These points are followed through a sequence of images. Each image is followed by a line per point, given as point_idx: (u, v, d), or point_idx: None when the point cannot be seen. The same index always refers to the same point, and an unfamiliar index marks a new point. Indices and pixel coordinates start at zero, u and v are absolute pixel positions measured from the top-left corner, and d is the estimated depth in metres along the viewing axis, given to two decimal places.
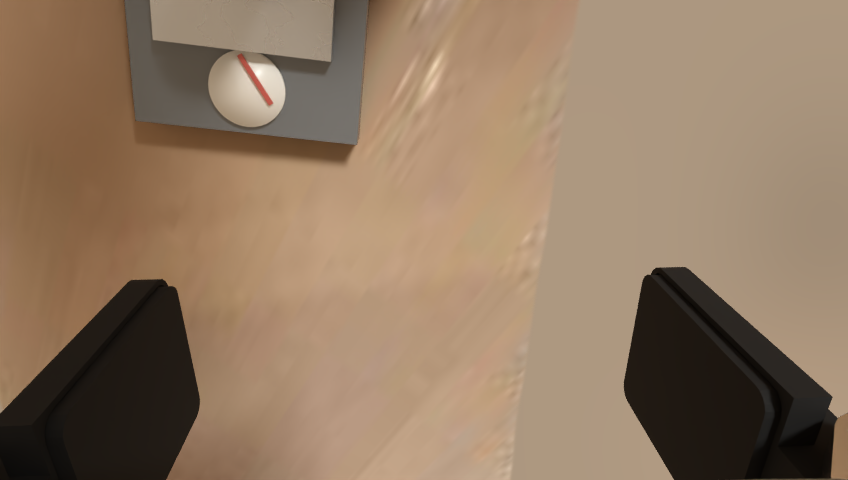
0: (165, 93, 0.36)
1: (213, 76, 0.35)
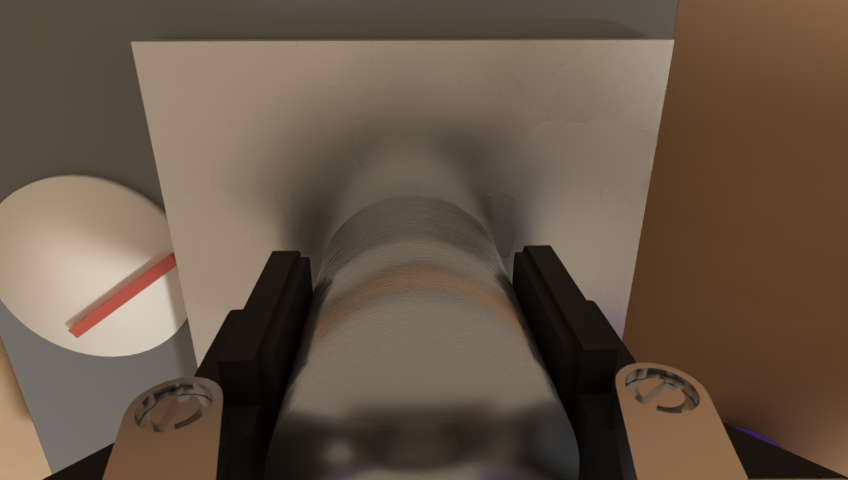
0: None
1: (95, 193, 0.13)
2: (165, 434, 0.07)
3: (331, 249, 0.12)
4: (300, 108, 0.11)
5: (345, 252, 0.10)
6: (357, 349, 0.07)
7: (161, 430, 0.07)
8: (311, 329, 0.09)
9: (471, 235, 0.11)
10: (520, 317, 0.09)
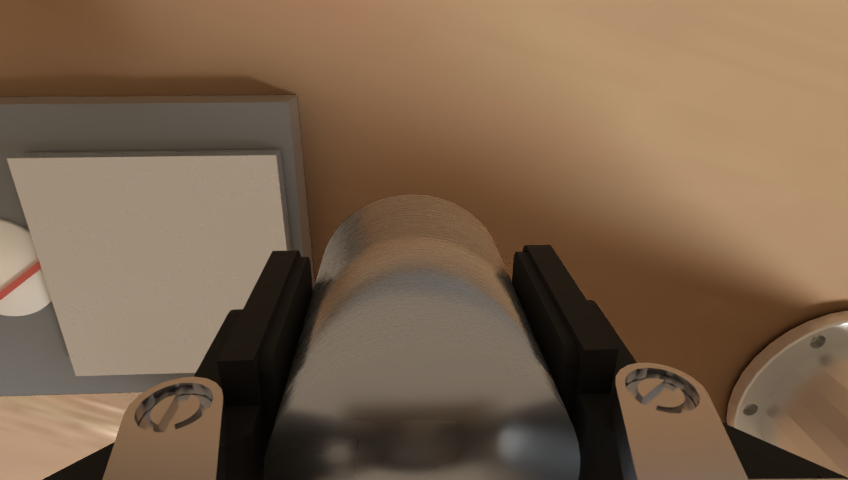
0: None
1: None
2: (165, 434, 0.07)
3: (331, 247, 0.11)
4: (94, 188, 0.23)
5: (345, 250, 0.10)
6: (357, 347, 0.07)
7: (161, 430, 0.07)
8: (311, 327, 0.09)
9: (471, 233, 0.11)
10: (520, 315, 0.09)
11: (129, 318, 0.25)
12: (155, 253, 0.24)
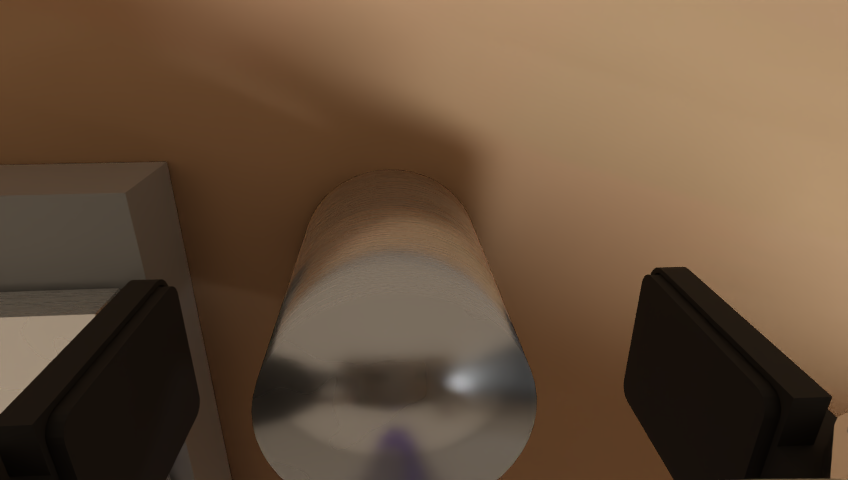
0: None
1: None
2: None
3: (314, 219, 0.12)
4: None
5: (326, 220, 0.11)
6: (334, 296, 0.08)
7: None
8: (294, 286, 0.09)
9: (444, 204, 0.12)
10: (487, 274, 0.10)
11: None
12: None
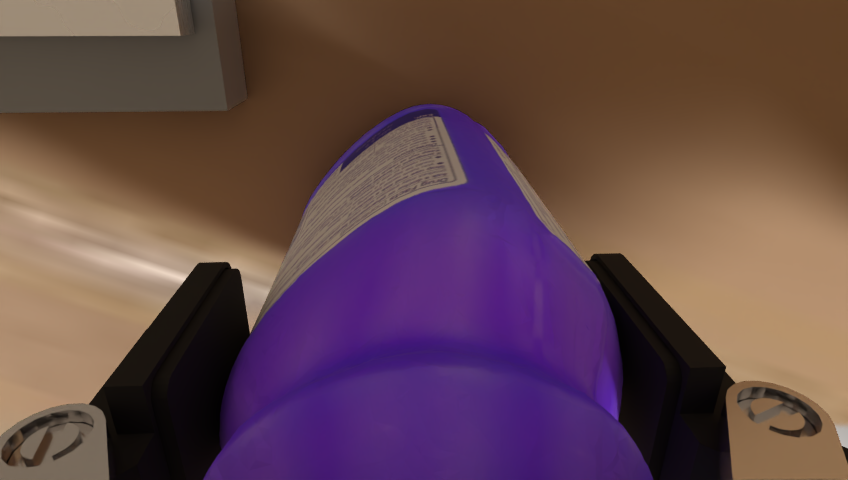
0: None
1: None
2: (42, 467, 0.06)
3: None
4: None
5: None
6: None
7: (36, 465, 0.06)
8: None
9: None
10: None
11: None
12: None
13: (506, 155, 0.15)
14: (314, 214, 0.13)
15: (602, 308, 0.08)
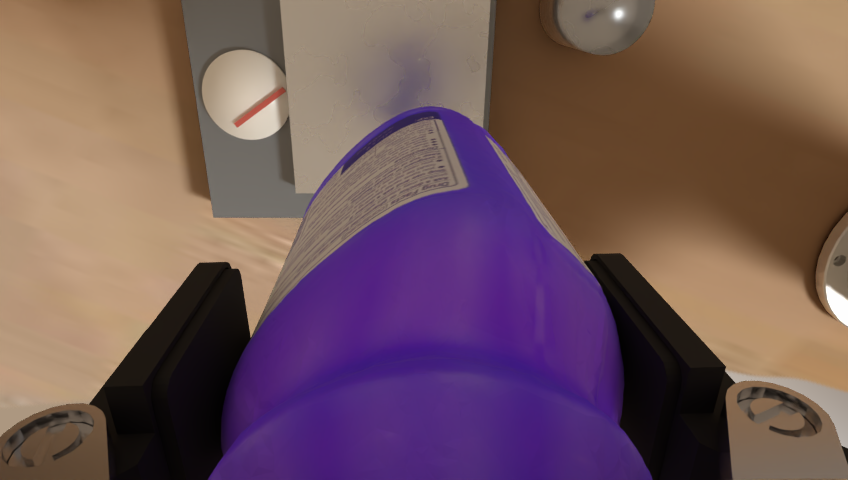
0: None
1: (253, 57, 0.30)
2: (43, 467, 0.06)
3: None
4: (342, 19, 0.28)
5: None
6: None
7: (36, 465, 0.06)
8: None
9: None
10: None
11: (349, 140, 0.31)
12: (380, 80, 0.29)
13: (507, 157, 0.15)
14: (315, 217, 0.13)
15: (603, 312, 0.08)
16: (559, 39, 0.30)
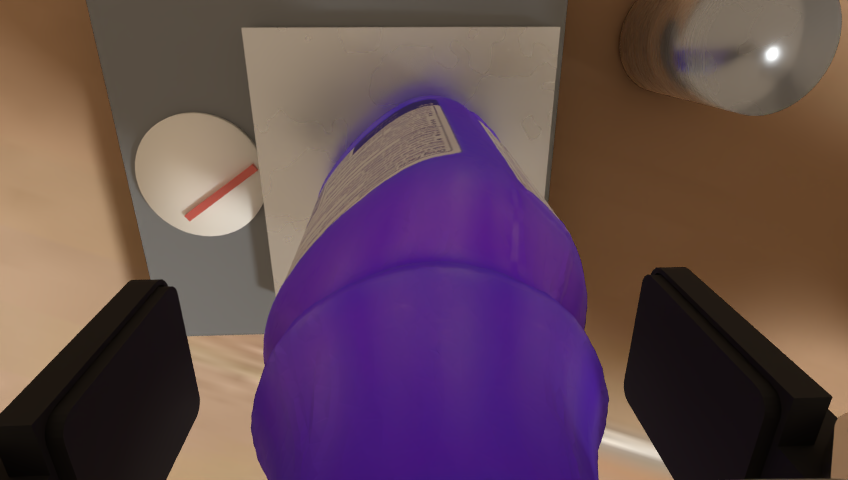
0: (152, 30, 0.19)
1: (208, 123, 0.20)
2: None
3: None
4: (338, 68, 0.19)
5: None
6: None
7: None
8: None
9: None
10: None
11: None
12: None
13: (497, 139, 0.17)
14: (332, 189, 0.15)
15: (568, 248, 0.10)
16: (658, 78, 0.20)
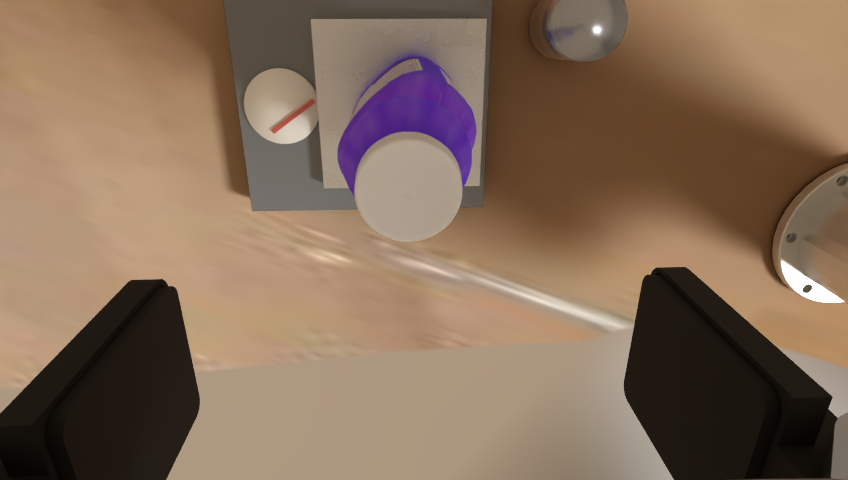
0: (258, 20, 0.34)
1: (287, 74, 0.35)
2: None
3: None
4: (363, 41, 0.34)
5: None
6: None
7: None
8: None
9: None
10: None
11: None
12: None
13: (450, 79, 0.32)
14: (363, 99, 0.30)
15: (465, 107, 0.25)
16: (541, 40, 0.35)
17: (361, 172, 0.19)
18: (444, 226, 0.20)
